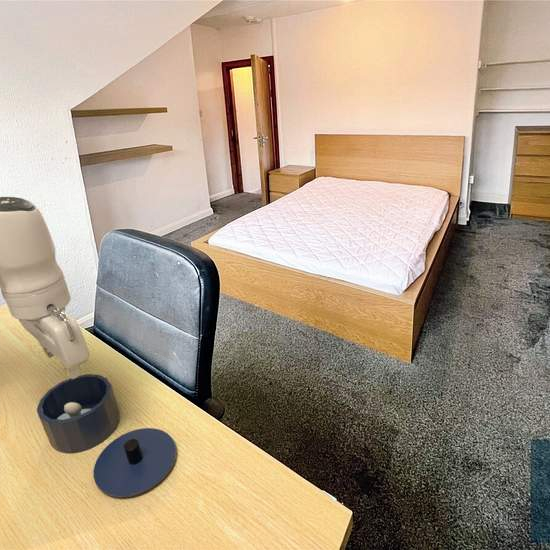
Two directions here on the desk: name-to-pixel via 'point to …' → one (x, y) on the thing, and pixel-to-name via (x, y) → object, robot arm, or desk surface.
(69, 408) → the pacifier
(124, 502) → the desk surface
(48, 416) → the pot
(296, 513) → the desk surface
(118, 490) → the lid
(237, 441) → the desk surface
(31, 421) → the desk surface
